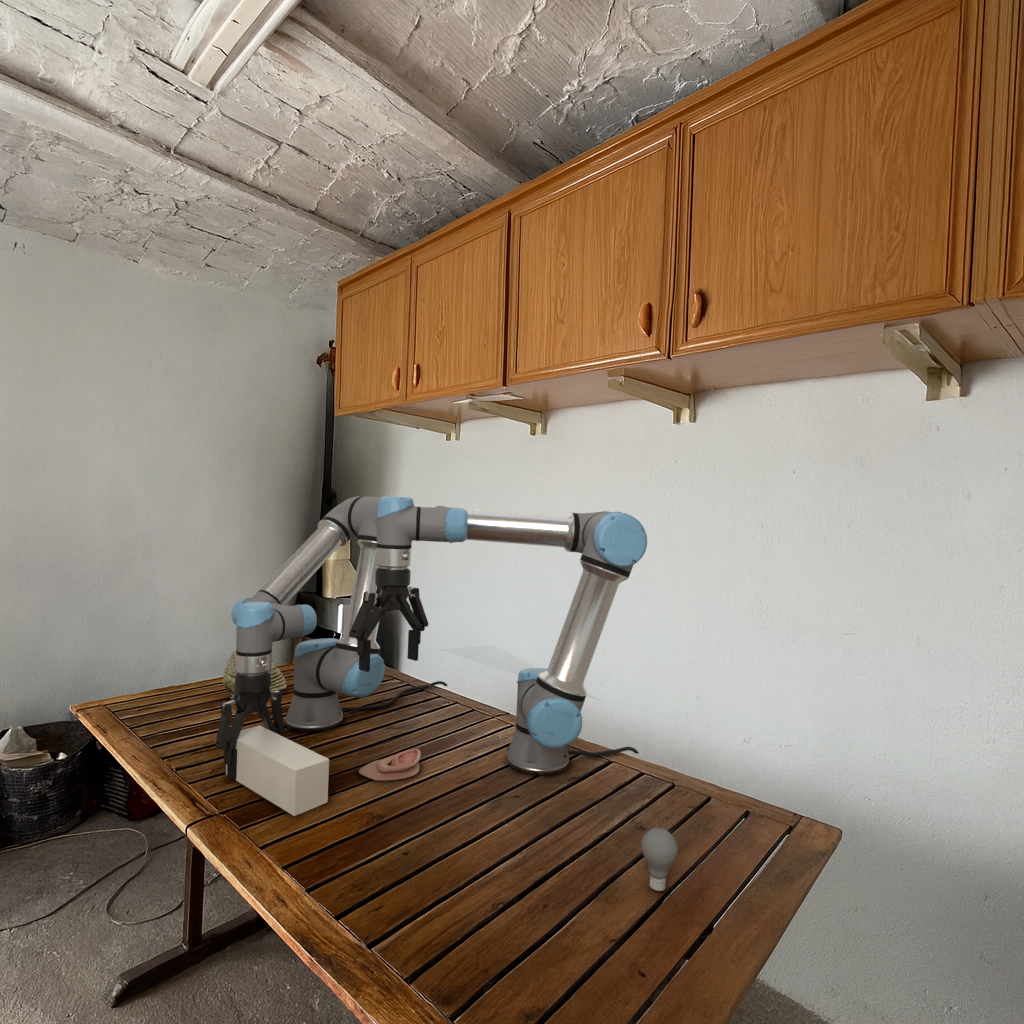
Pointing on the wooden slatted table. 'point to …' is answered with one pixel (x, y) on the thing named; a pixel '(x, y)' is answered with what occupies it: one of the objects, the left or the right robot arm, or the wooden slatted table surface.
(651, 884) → the light bulb
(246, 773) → the box
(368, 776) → the anatomical model
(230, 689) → the fossil
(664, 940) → the wooden slatted table surface
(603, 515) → the right robot arm
